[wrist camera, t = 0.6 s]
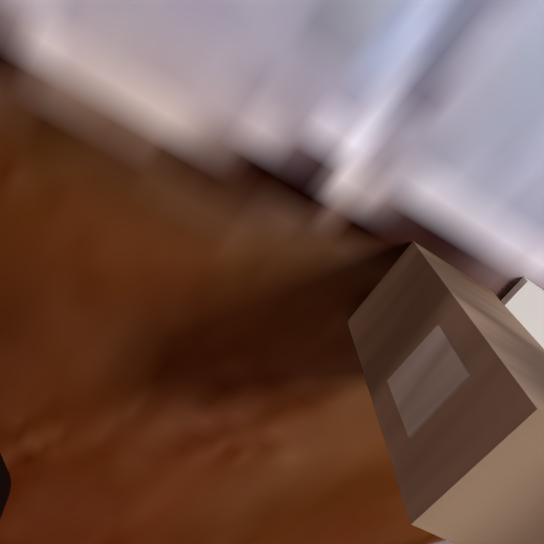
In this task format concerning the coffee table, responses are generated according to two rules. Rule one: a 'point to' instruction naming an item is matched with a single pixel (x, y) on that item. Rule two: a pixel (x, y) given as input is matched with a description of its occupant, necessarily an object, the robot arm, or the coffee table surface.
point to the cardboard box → (456, 401)
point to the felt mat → (527, 307)
